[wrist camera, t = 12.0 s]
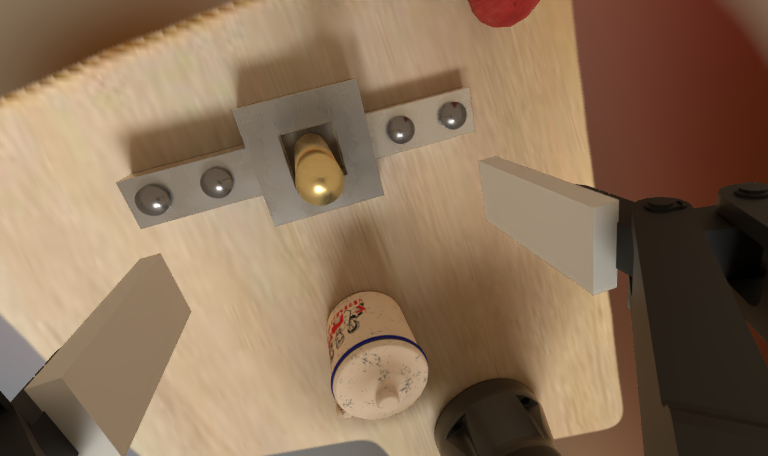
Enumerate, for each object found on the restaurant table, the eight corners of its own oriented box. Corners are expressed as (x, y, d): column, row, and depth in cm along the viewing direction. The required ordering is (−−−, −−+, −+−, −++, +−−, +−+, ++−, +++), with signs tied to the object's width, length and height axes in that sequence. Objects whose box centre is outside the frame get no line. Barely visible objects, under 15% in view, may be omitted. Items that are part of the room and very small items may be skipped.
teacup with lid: (347, 276, 39) (367, 347, 29) (418, 303, 43) (459, 376, 32) (298, 364, 42) (300, 459, 31) (368, 384, 45) (391, 476, 34)
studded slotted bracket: (472, 159, 38) (488, 166, 34) (168, 246, 34) (155, 263, 31) (457, 52, 34) (475, 49, 30) (113, 138, 30) (91, 145, 27)
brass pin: (332, 161, 35) (349, 198, 24) (300, 170, 34) (303, 211, 23) (323, 129, 34) (337, 152, 23) (290, 138, 33) (288, 165, 22)
